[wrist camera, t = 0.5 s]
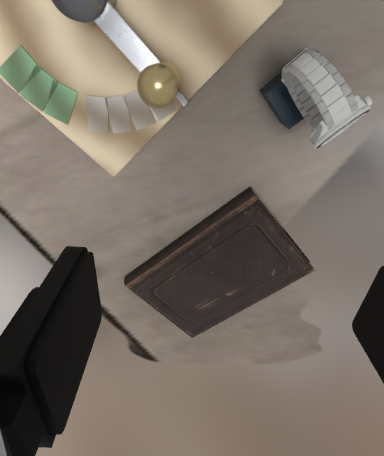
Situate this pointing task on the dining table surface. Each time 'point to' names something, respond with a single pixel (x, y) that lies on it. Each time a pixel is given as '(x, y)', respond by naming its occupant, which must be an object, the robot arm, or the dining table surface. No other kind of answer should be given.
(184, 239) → the hardcover book
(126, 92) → the dial board
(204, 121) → the dining table surface
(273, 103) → the watch
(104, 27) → the lever
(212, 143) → the dining table surface
